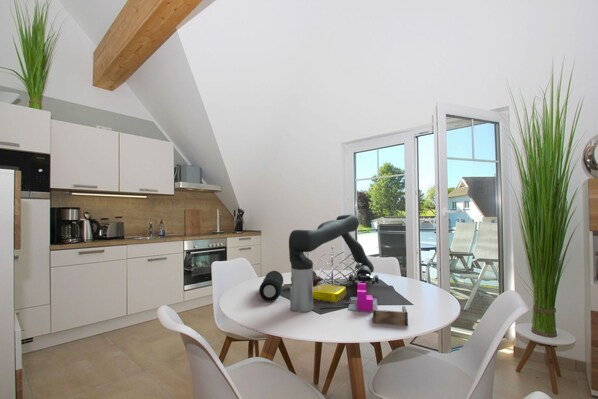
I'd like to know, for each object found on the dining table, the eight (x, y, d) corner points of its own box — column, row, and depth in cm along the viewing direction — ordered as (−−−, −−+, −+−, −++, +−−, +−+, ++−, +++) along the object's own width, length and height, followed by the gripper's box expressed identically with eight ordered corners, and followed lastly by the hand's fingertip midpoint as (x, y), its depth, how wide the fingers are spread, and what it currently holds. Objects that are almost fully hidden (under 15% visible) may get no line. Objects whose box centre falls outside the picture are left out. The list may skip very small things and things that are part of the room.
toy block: (373, 311, 119) (372, 292, 119) (357, 310, 120) (357, 291, 120) (371, 300, 134) (371, 283, 134) (357, 299, 135) (357, 282, 135)
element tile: (336, 304, 131) (335, 293, 131) (306, 299, 138) (306, 289, 138) (347, 295, 144) (347, 285, 144) (319, 291, 151) (319, 282, 152)
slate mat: (348, 310, 121) (348, 309, 121) (350, 297, 139) (350, 296, 139) (377, 312, 119) (377, 311, 119) (376, 299, 136) (376, 298, 136)
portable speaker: (265, 288, 158) (265, 269, 158) (283, 288, 157) (283, 269, 158) (258, 303, 132) (258, 281, 132) (280, 303, 132) (280, 280, 132)
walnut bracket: (373, 322, 107) (373, 310, 107) (373, 315, 115) (372, 304, 115) (407, 325, 105) (407, 312, 105) (405, 317, 112) (405, 306, 112)
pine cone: (289, 289, 154) (289, 270, 155) (292, 284, 164) (292, 267, 164) (323, 290, 152) (322, 271, 152) (323, 285, 162) (323, 267, 162)
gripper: (350, 267, 155) (347, 273, 139) (377, 267, 152) (378, 274, 136) (350, 281, 155) (348, 289, 139) (378, 282, 151) (379, 291, 136)
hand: (363, 282), depth 137 cm, fingers open, 8 cm apart
